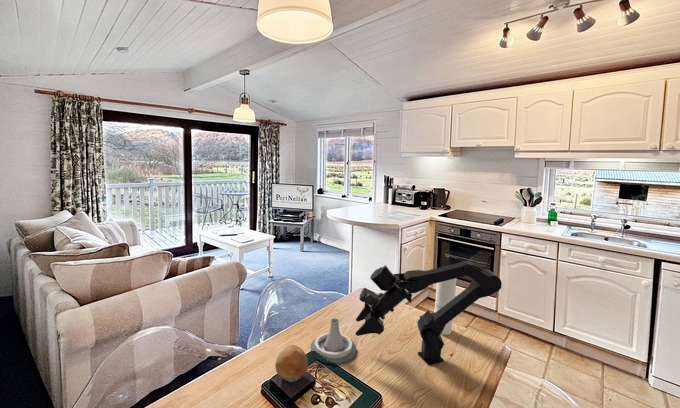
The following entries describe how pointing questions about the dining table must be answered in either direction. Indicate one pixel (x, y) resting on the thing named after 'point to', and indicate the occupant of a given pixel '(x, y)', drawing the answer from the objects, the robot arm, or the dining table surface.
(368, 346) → the dining table surface
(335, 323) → the flask
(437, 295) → the cylindrical container
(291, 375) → the onion
